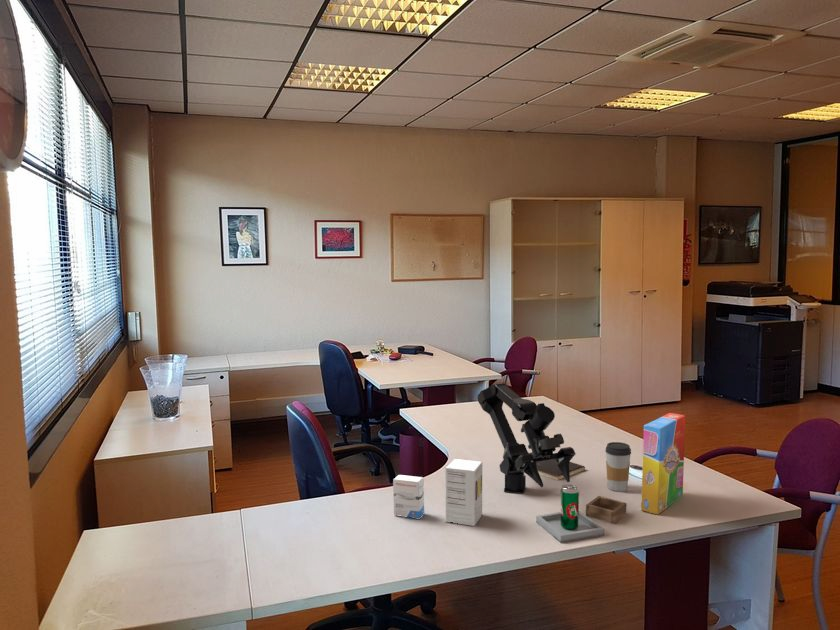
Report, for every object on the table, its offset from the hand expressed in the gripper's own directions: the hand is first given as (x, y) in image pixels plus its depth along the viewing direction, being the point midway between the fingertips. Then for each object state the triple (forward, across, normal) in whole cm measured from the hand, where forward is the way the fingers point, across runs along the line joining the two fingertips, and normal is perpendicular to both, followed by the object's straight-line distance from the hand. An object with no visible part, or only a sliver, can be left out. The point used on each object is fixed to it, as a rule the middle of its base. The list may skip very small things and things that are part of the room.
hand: (555, 484), depth 190 cm
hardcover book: (-19, +21, +37) cm, 47 cm away
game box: (+10, +38, +6) cm, 39 cm away
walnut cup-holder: (+10, +15, +5) cm, 19 cm away
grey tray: (+13, 0, +2) cm, 13 cm away
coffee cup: (-1, +32, +17) cm, 37 cm away
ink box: (-6, -40, +20) cm, 46 cm away
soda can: (+13, 0, +2) cm, 13 cm away
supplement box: (0, -26, +15) cm, 30 cm away
